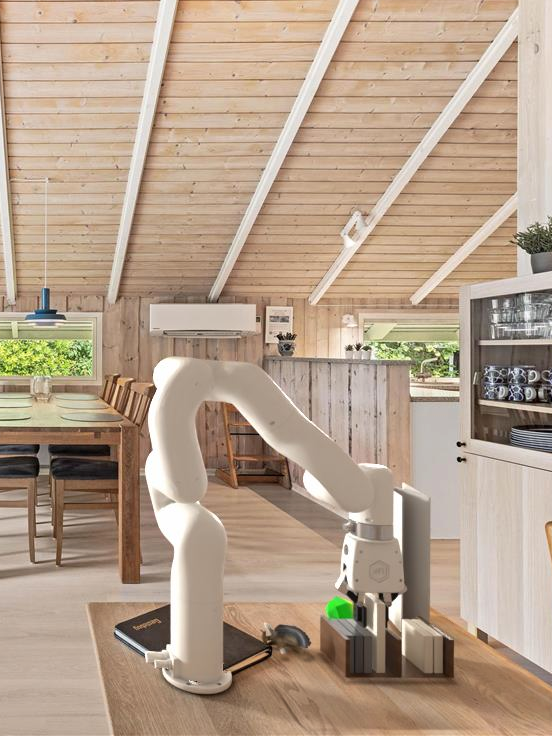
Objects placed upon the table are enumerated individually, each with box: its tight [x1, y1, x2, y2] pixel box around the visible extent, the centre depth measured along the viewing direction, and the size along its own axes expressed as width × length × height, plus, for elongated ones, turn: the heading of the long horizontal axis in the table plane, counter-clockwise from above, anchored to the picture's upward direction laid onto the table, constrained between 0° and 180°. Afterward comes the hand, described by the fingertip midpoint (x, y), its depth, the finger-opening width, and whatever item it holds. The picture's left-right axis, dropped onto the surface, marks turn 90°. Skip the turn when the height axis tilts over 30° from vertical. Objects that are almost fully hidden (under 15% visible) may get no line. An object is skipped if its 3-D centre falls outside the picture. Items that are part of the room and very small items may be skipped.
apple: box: [325, 595, 354, 620], centre depth 138 cm, size 7×6×9 cm
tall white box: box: [389, 482, 431, 634], centre depth 139 cm, size 14×6×30 cm, turn 168°
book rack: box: [319, 614, 455, 679], centre depth 120 cm, size 20×10×8 cm, turn 90°
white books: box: [401, 619, 443, 673], centre depth 120 cm, size 4×7×7 cm, turn 0°
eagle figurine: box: [259, 622, 312, 656], centre depth 125 cm, size 8×7×9 cm
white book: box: [364, 593, 385, 673], centre depth 120 cm, size 2×7×13 cm, turn 0°
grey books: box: [327, 618, 372, 673], centre depth 120 cm, size 5×7×7 cm
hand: (370, 623), depth 120 cm, fingers open, 3 cm apart
